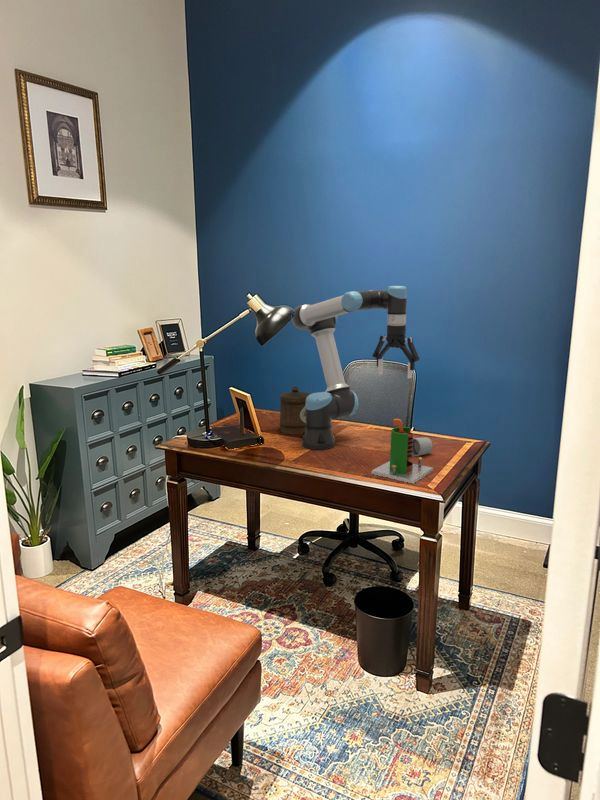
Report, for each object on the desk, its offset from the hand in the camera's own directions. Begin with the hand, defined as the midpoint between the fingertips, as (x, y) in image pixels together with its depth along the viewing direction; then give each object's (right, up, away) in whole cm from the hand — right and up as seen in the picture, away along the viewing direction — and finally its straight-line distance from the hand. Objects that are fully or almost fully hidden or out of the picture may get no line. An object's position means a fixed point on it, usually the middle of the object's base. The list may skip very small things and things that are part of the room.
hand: (394, 376), depth 250 cm
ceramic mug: (+12, -33, +11) cm, 37 cm away
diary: (-70, -30, +31) cm, 82 cm away
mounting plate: (+1, -38, -12) cm, 40 cm away
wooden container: (-42, -25, +48) cm, 68 cm away
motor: (0, -37, -12) cm, 39 cm away
